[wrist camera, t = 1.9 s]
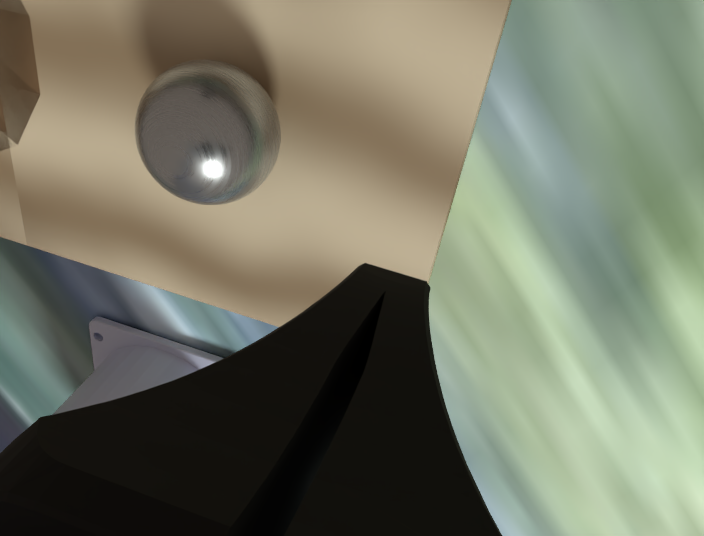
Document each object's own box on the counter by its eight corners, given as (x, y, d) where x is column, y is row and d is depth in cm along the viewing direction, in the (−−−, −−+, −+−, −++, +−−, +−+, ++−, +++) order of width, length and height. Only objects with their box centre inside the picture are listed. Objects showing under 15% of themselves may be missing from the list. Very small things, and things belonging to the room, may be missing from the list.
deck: (415, 326, 24) (402, 366, 22) (-125, 157, 28) (-179, 179, 26) (556, -153, 15) (556, -158, 13) (-274, -310, 19) (-375, -334, 17)
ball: (293, 186, 19) (240, 247, 16) (181, 154, 20) (108, 206, 17) (308, 63, 17) (250, 104, 14) (181, 31, 18) (97, 63, 15)
